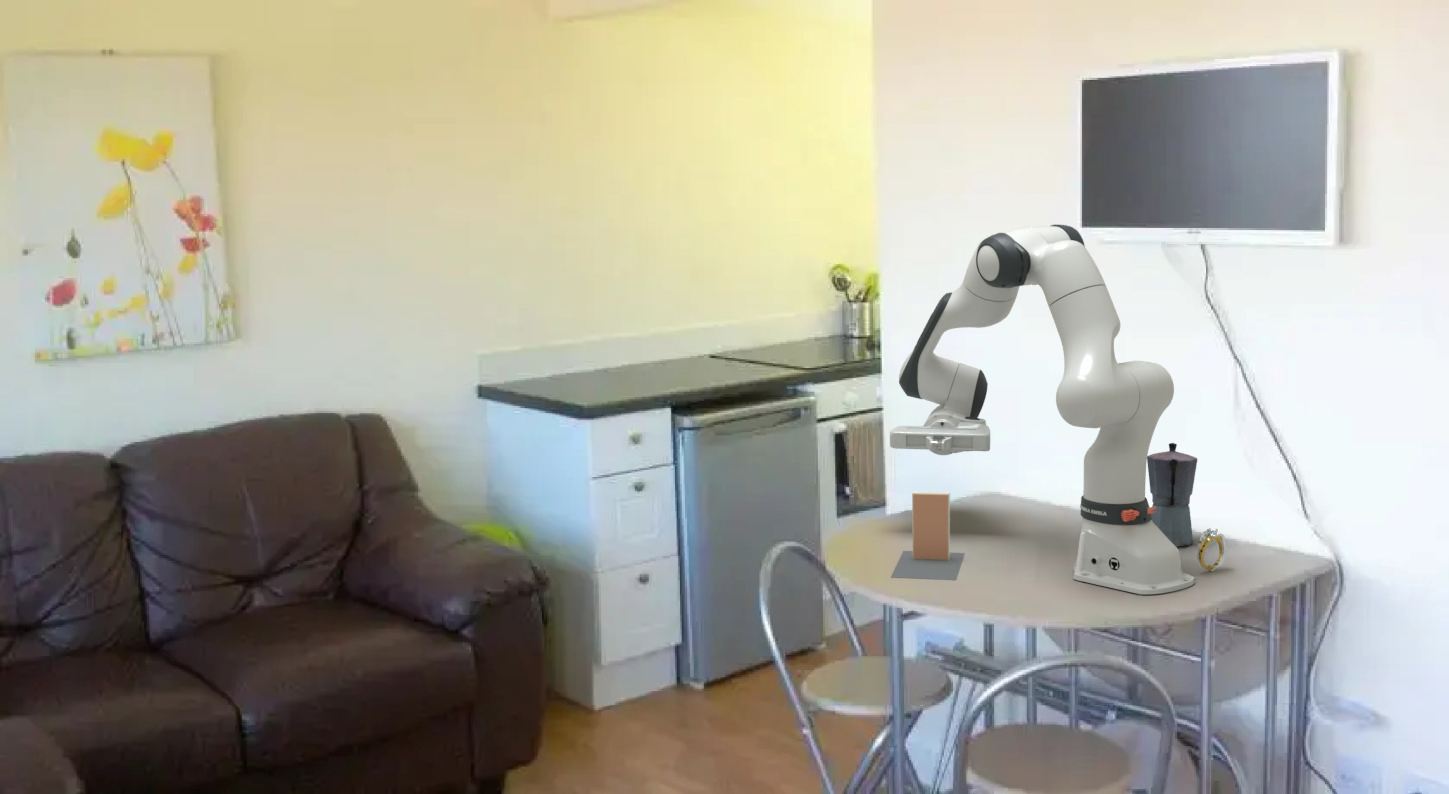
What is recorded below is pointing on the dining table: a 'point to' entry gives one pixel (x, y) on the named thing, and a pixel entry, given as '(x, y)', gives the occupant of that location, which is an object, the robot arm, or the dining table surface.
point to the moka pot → (1172, 493)
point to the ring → (1202, 547)
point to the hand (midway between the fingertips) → (936, 446)
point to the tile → (931, 525)
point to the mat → (928, 567)
